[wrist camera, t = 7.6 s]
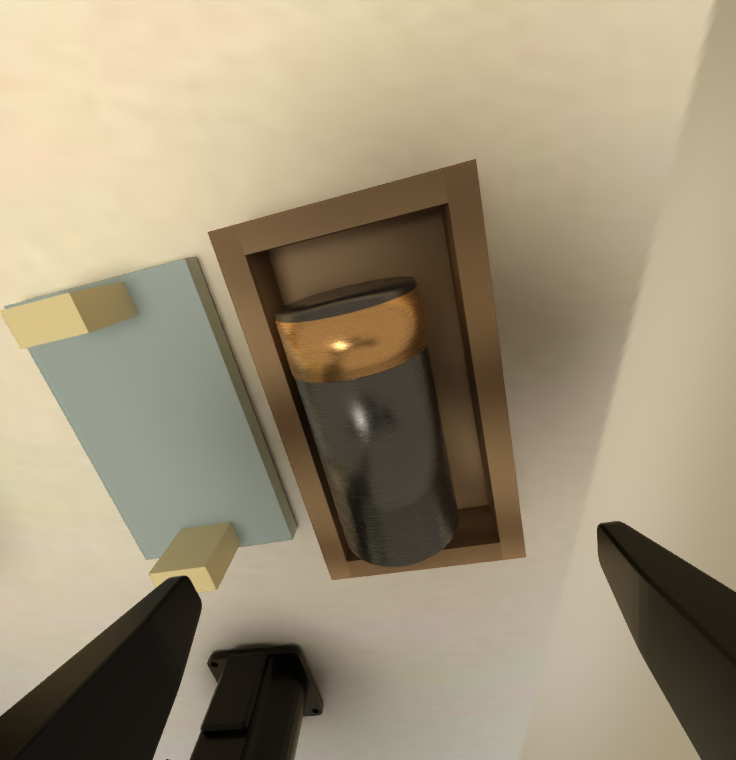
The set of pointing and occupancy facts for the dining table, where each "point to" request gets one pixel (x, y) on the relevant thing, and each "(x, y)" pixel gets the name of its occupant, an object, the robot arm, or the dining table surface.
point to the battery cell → (374, 416)
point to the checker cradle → (160, 415)
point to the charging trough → (443, 326)
